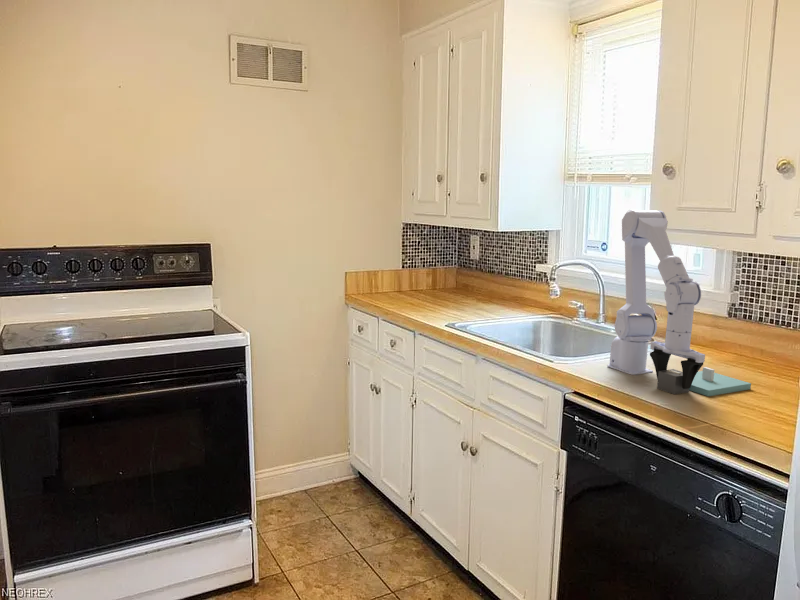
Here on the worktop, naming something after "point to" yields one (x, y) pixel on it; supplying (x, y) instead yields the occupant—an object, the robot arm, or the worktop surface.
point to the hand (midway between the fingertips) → (673, 383)
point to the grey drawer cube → (671, 381)
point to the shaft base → (716, 383)
